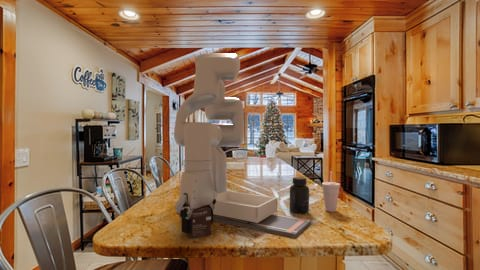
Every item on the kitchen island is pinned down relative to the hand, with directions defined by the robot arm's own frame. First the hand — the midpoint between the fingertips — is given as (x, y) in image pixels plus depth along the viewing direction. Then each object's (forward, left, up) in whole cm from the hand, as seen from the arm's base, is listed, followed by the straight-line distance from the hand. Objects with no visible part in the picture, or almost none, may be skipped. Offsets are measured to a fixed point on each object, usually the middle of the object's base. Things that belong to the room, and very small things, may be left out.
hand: (197, 227), depth 79 cm
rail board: (+8, +18, -2) cm, 20 cm away
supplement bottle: (+17, +35, -2) cm, 39 cm away
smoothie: (+26, +43, -2) cm, 50 cm away
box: (0, 0, -2) cm, 2 cm away
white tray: (+3, +18, 0) cm, 18 cm away
